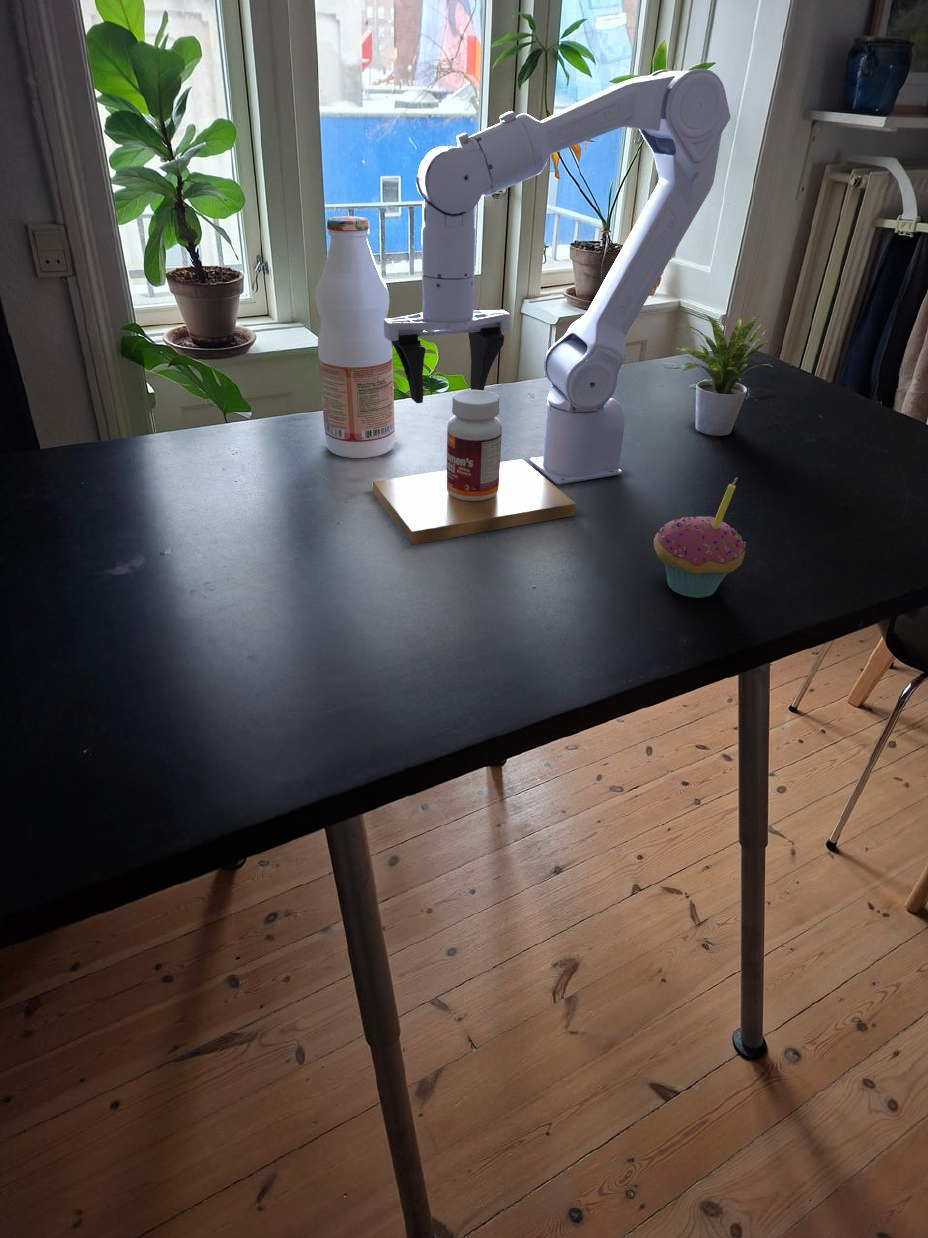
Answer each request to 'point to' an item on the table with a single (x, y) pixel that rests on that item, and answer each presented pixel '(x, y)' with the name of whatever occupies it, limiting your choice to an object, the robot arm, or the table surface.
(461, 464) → the pill bottle
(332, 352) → the fruit juice
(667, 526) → the cupcake
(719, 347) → the house plant
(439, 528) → the oak board
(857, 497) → the table surface
